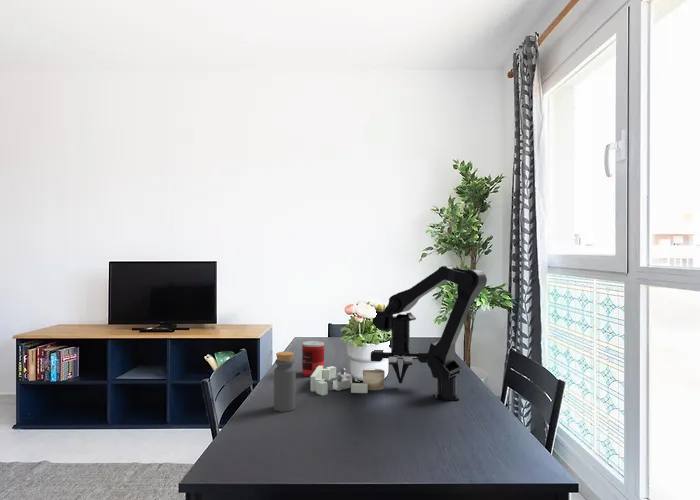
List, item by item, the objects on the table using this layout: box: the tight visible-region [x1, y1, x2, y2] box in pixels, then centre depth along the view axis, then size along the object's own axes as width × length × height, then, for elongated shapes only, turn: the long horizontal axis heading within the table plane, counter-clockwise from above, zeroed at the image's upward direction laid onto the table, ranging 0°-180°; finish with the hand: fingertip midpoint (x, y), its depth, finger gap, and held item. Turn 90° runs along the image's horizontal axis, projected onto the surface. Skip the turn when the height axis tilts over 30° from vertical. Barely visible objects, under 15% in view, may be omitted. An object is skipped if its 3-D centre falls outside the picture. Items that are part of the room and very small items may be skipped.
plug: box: [362, 368, 386, 391], centre depth 142 cm, size 7×7×5 cm
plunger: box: [336, 367, 353, 384], centre depth 146 cm, size 5×2×4 cm, turn 39°
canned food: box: [301, 340, 325, 378], centre depth 157 cm, size 8×8×11 cm
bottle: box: [273, 351, 297, 413], centre depth 121 cm, size 6×6×15 cm
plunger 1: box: [332, 374, 351, 391], centre depth 139 cm, size 5×2×4 cm, turn 129°
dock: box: [309, 366, 369, 396], centre depth 143 cm, size 22×18×4 cm
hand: (400, 383), depth 141 cm, fingers closed
